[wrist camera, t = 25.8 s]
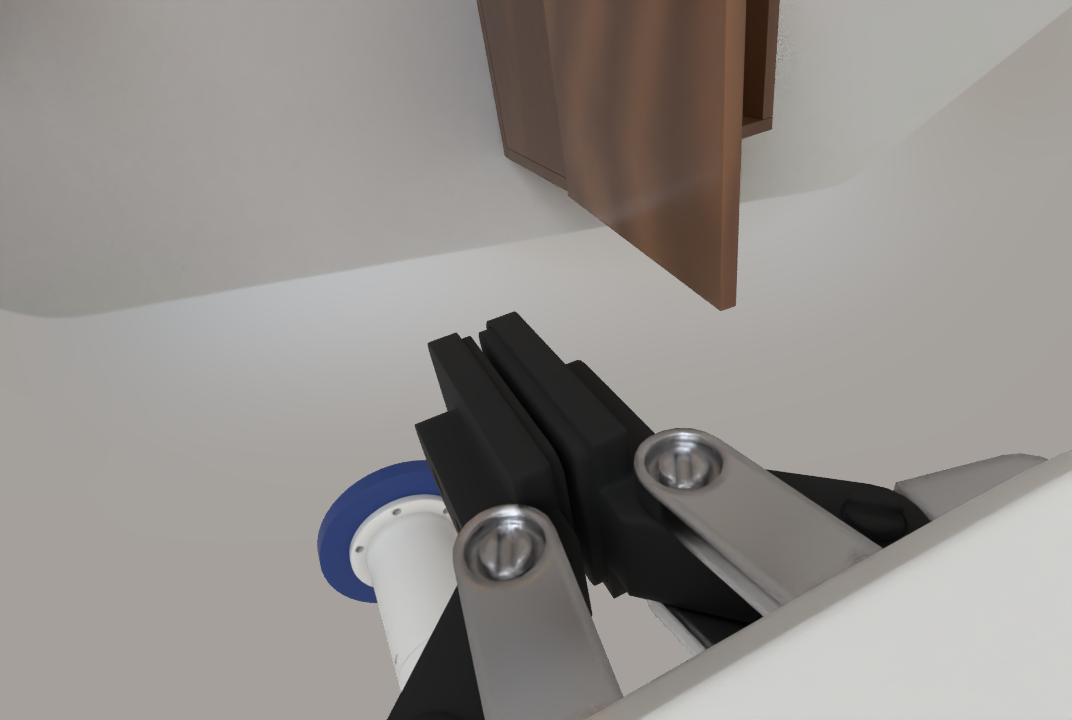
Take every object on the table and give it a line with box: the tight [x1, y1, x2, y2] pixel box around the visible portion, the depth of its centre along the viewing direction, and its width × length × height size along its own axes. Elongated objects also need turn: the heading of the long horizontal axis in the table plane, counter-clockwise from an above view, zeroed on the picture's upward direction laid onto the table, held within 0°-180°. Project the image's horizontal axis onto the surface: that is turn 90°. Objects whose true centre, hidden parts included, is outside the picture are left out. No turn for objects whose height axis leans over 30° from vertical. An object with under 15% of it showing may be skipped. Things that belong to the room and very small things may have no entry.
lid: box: [543, 0, 746, 311], centre depth 29 cm, size 18×15×1 cm
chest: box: [477, 0, 780, 191], centre depth 43 cm, size 17×15×12 cm
